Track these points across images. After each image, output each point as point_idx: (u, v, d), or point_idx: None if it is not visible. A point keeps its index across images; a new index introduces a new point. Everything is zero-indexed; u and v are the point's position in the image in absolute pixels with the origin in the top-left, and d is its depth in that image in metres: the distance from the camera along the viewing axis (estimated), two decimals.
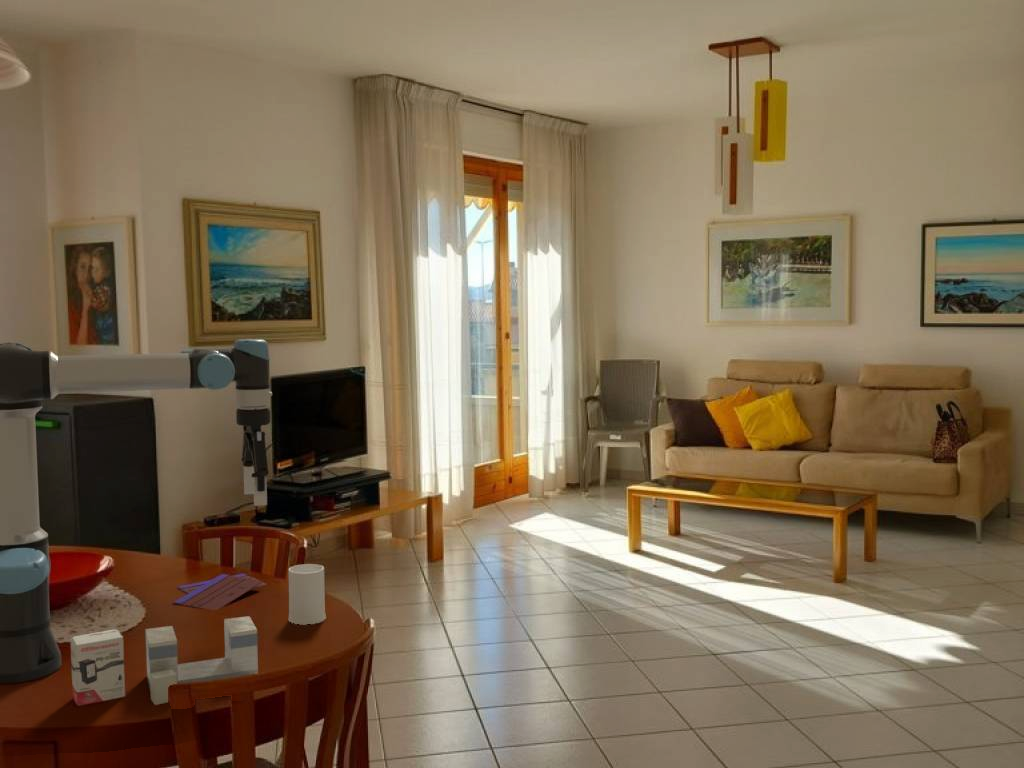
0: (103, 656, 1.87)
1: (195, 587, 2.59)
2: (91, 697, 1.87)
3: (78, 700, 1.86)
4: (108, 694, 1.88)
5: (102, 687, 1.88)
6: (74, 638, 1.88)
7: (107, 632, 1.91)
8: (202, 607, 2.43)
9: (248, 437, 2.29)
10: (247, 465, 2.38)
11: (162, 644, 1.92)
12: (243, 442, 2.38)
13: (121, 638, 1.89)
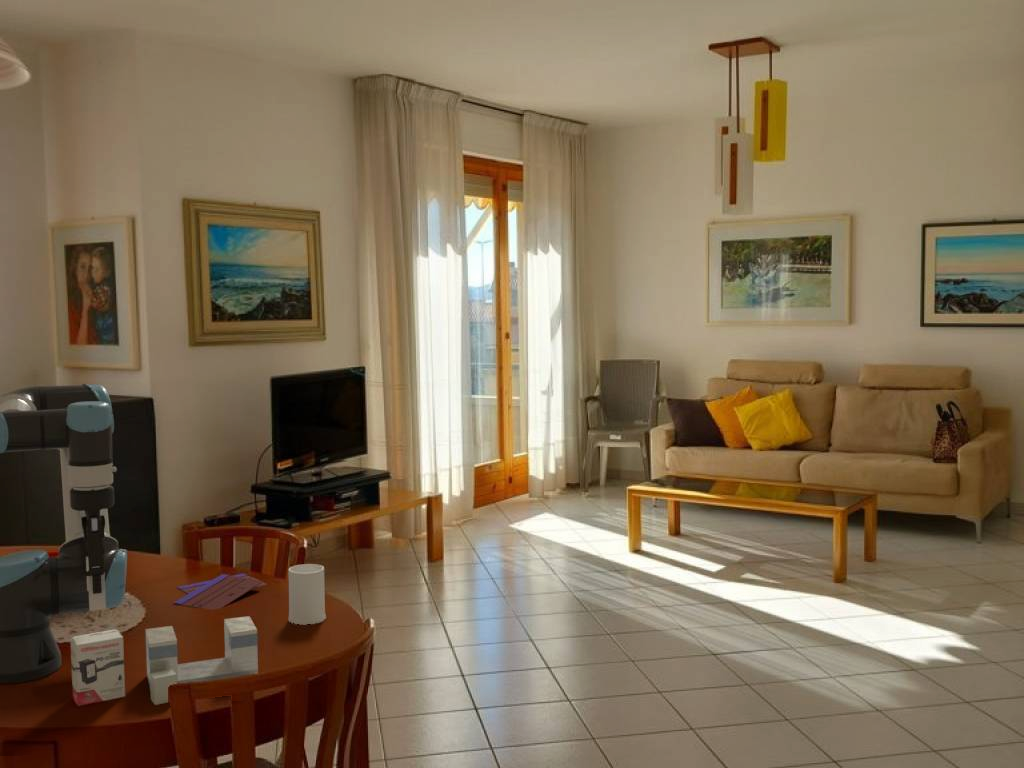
0: (103, 656, 1.87)
1: (195, 587, 2.59)
2: (91, 697, 1.87)
3: (78, 700, 1.86)
4: (108, 694, 1.88)
5: (102, 687, 1.88)
6: (74, 638, 1.88)
7: (107, 632, 1.91)
8: (202, 607, 2.43)
9: (84, 524, 1.84)
10: None
11: (162, 644, 1.92)
12: None
13: (121, 638, 1.89)
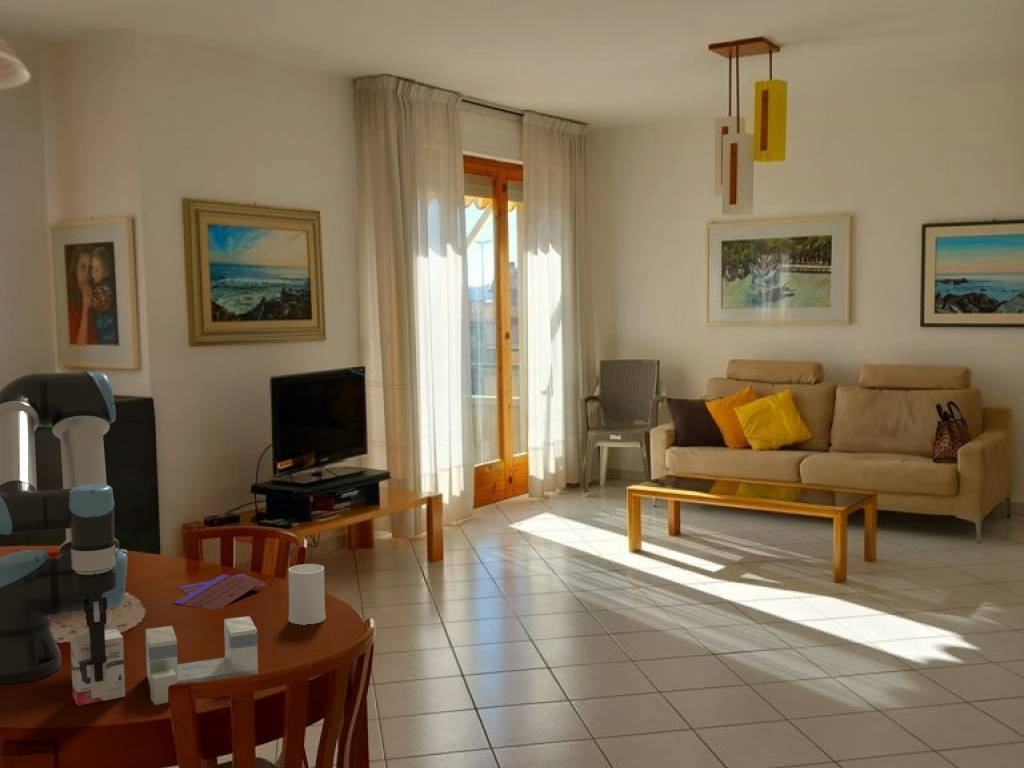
0: None
1: (195, 587, 2.59)
2: None
3: (78, 700, 1.86)
4: (108, 694, 1.88)
5: None
6: (74, 638, 1.88)
7: (107, 632, 1.91)
8: (203, 607, 2.43)
9: (86, 609, 1.86)
10: None
11: (162, 644, 1.92)
12: None
13: (121, 638, 1.89)
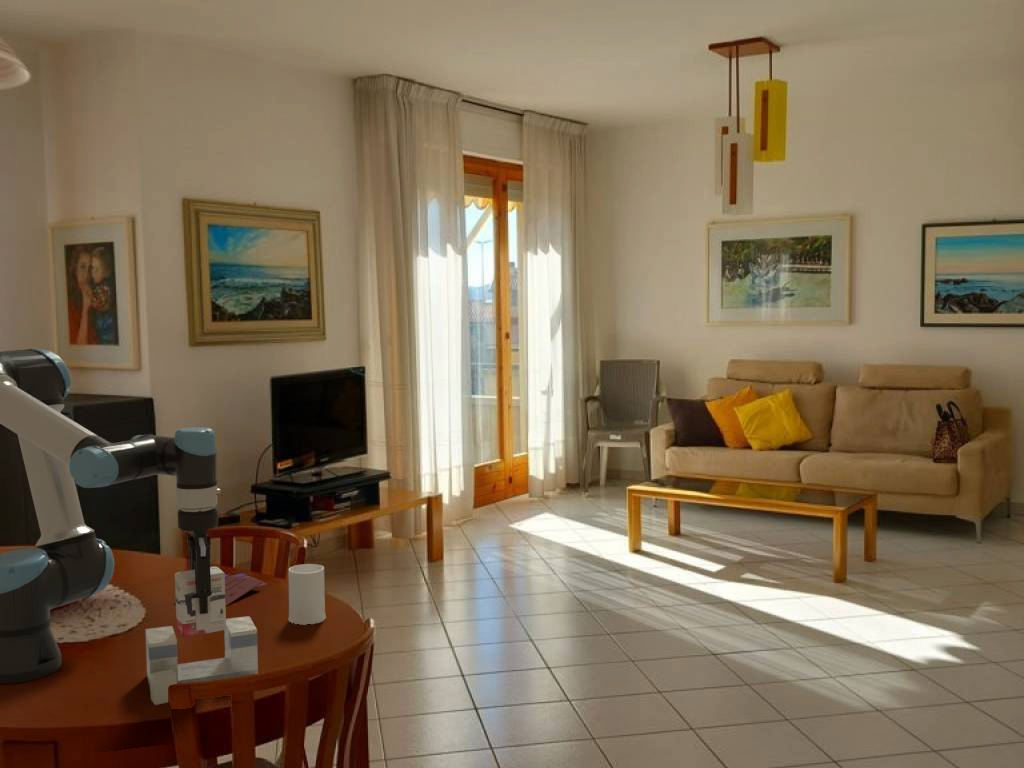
0: None
1: None
2: None
3: (184, 631, 1.95)
4: (211, 626, 1.98)
5: None
6: (178, 573, 1.97)
7: None
8: None
9: (191, 545, 1.95)
10: None
11: (162, 644, 1.92)
12: None
13: (223, 573, 1.98)
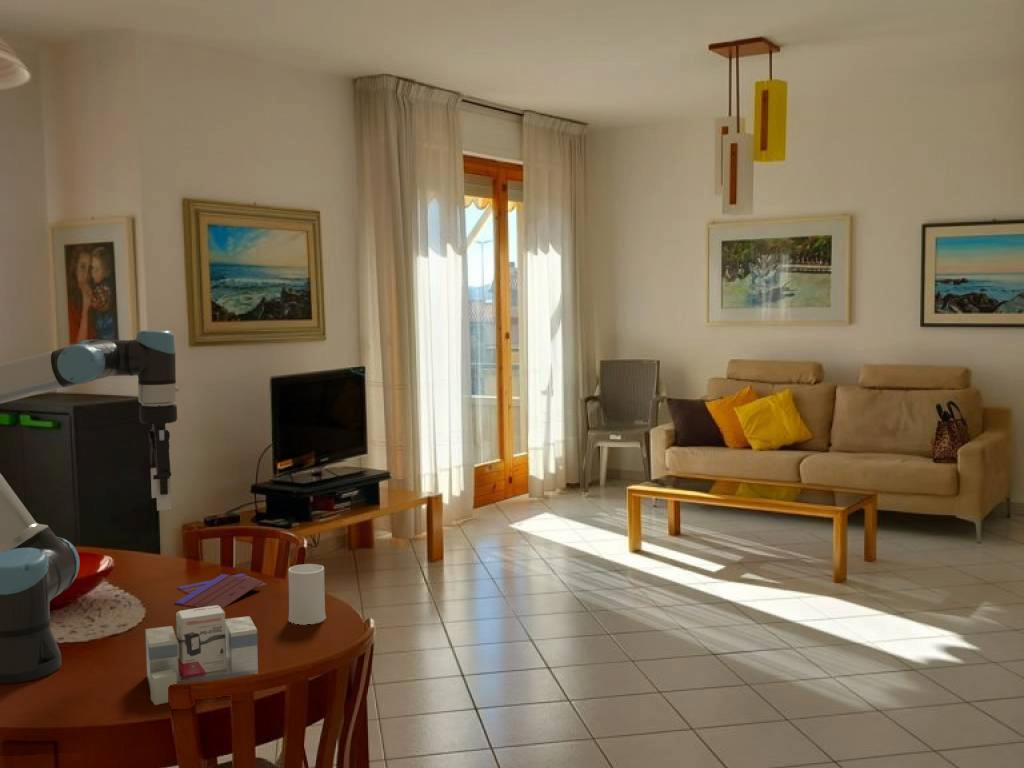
0: (206, 630, 1.97)
1: (195, 587, 2.58)
2: (195, 669, 1.97)
3: (183, 671, 1.96)
4: (211, 666, 1.98)
5: (205, 659, 1.97)
6: (180, 612, 1.98)
7: (210, 607, 2.01)
8: None
9: (151, 436, 2.11)
10: (155, 467, 2.21)
11: (162, 644, 1.92)
12: None
13: (223, 613, 1.98)
